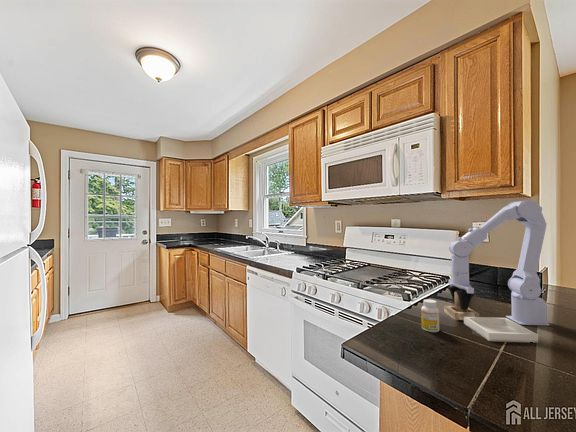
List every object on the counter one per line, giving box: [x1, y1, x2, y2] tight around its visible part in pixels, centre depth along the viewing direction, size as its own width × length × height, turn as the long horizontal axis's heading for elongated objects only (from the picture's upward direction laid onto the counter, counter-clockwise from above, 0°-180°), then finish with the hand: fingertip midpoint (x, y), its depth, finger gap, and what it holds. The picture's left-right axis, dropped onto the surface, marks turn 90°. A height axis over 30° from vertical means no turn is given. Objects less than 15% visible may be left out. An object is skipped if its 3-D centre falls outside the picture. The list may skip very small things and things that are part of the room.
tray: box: [463, 316, 539, 344], centre depth 90 cm, size 14×14×2 cm
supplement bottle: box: [420, 298, 440, 333], centre depth 93 cm, size 5×5×10 cm
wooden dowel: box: [454, 292, 467, 312], centre depth 105 cm, size 4×4×9 cm
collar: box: [443, 305, 480, 321], centre depth 105 cm, size 8×8×2 cm
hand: (460, 307), depth 105 cm, fingers open, 4 cm apart
